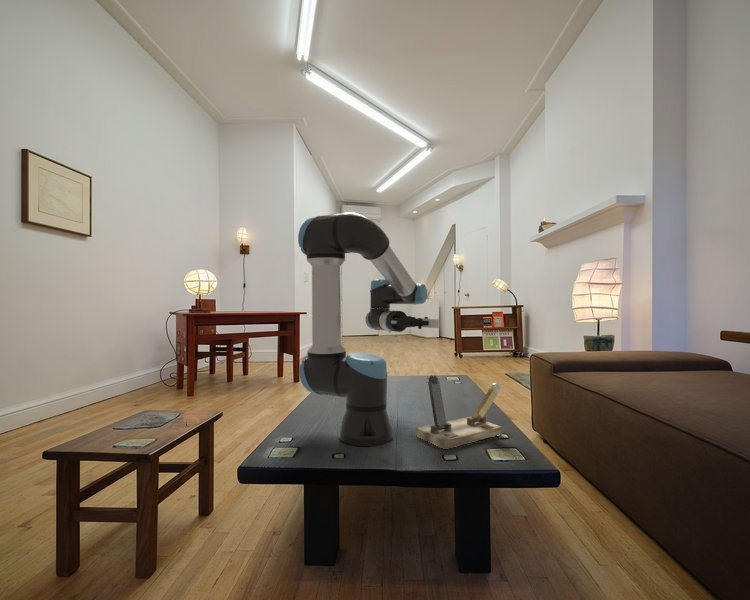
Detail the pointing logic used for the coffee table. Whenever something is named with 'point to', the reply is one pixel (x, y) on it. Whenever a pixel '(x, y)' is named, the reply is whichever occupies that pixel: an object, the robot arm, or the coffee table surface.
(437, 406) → the lever slate
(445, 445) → the console
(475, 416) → the lever brass
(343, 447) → the coffee table surface
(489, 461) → the coffee table surface
